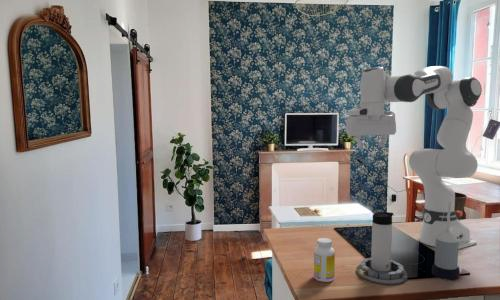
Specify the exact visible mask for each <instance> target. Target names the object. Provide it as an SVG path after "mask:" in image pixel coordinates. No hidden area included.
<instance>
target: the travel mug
mask: <svg viewBox="0 0 500 300" xmlns="http://www.w3.org/2000/svg"><path fill="white" fill-rule="evenodd" d="M372 214H373V215H372V221H371V222H372V225H371V254H370V258H371V269H372V270H376V271H379V272H390V271H391V260H392V243H393V240H392V239H393V237H392V236H393V235H392V234H393V217H394V215H395V214H394V212H391V211H390V212H389V211H388V212H387V211H379V212H374V213H372Z"/></svg>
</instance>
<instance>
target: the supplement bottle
mask: <svg viewBox="0 0 500 300" xmlns="http://www.w3.org/2000/svg"><path fill="white" fill-rule="evenodd" d="M316 244H317V246H315V248H314V250H313V251H314V252H313V276H314V279H315V280H316V281H318V282H322V283H330V282H333V281H334V280H335V276H336V275H335V271H336V269H335V267H336V264H335V263H336V261H335V259H336V251H335V249H334V248H333V247H332V245H333V240H332V239H330V238H326V237H319V238H318V239H317V241H316Z"/></svg>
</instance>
